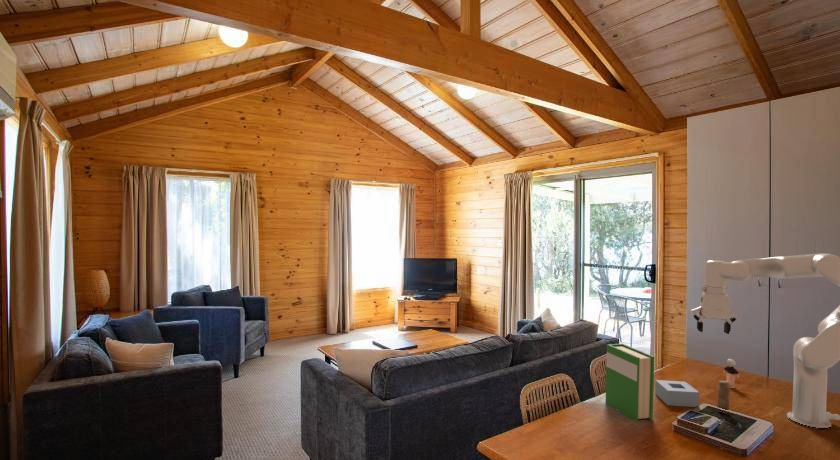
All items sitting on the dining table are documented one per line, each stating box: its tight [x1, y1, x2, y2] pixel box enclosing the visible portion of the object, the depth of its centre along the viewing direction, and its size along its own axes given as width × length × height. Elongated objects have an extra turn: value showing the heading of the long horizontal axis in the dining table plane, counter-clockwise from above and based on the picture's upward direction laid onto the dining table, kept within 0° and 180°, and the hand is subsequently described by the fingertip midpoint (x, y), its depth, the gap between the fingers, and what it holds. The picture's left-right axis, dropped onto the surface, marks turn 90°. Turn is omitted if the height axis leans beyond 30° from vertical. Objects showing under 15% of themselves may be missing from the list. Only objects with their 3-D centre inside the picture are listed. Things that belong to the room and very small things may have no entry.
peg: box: [717, 380, 730, 411], centre depth 175 cm, size 4×4×12 cm
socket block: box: [654, 379, 700, 408], centre depth 186 cm, size 12×12×6 cm
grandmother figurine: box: [722, 358, 740, 389], centre depth 202 cm, size 8×4×13 cm, turn 25°
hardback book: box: [605, 343, 655, 423], centre depth 175 cm, size 18×7×24 cm, turn 13°
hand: (713, 332), depth 183 cm, fingers open, 9 cm apart
